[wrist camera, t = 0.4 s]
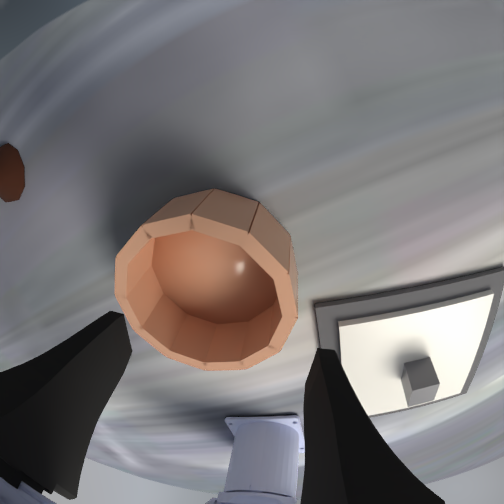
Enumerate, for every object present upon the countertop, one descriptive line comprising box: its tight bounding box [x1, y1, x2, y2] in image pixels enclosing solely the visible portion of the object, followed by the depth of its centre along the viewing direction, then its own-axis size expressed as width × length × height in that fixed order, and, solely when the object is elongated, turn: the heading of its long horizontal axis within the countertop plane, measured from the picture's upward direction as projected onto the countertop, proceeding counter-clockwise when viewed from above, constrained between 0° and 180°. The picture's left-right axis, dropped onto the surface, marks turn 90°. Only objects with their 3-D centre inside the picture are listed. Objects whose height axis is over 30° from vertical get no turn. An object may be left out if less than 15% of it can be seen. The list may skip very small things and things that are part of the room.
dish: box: [115, 188, 298, 371], centre depth 18 cm, size 10×10×4 cm
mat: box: [315, 267, 504, 418], centre depth 22 cm, size 16×16×1 cm
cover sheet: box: [338, 289, 494, 416], centre depth 20 cm, size 13×13×4 cm
